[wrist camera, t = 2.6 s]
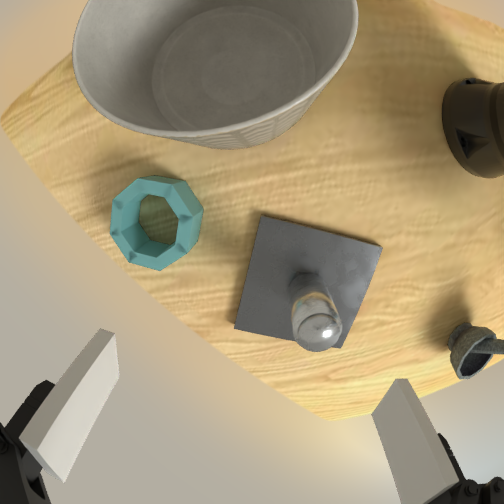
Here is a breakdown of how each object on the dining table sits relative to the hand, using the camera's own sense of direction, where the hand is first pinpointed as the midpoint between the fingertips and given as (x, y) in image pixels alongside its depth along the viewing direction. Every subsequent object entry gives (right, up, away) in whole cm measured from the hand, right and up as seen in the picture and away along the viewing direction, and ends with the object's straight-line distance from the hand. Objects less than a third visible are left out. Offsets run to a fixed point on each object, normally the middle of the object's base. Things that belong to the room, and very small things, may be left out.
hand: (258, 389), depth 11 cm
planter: (-2, +27, +17) cm, 32 cm away
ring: (-11, +10, +23) cm, 28 cm away
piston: (+7, +1, +25) cm, 26 cm away
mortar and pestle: (+38, -9, +27) cm, 48 cm away
